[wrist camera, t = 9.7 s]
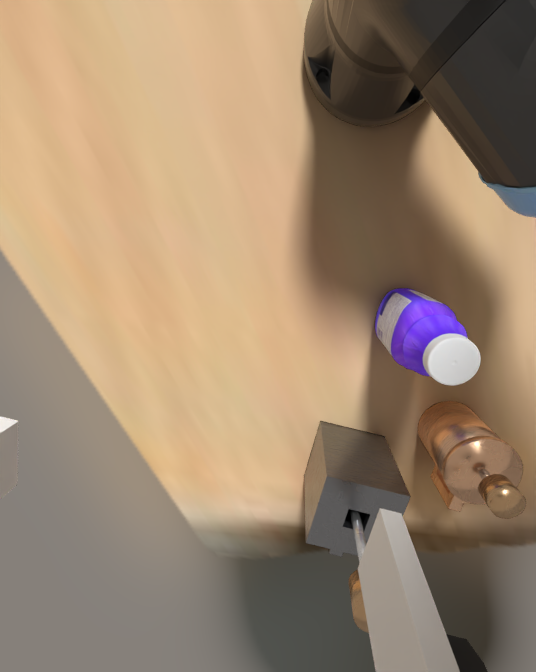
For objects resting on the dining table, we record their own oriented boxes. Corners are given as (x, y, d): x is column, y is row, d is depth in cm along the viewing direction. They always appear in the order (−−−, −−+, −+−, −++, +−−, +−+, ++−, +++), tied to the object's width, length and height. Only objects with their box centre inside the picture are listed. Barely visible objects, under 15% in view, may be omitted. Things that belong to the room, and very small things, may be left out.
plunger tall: (327, 443, 47) (346, 574, 28) (379, 455, 46) (431, 596, 28) (314, 486, 48) (324, 636, 30) (364, 498, 48) (403, 657, 30)
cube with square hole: (320, 420, 50) (326, 476, 38) (384, 436, 49) (410, 496, 38) (298, 493, 53) (299, 563, 41) (359, 507, 53) (375, 583, 41)
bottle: (410, 347, 46) (474, 410, 29) (366, 338, 46) (405, 394, 29) (429, 292, 44) (509, 325, 27) (383, 282, 44) (435, 308, 27)
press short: (428, 393, 47) (482, 458, 33) (488, 407, 47) (568, 479, 33) (402, 461, 50) (442, 548, 36) (458, 475, 50) (521, 567, 36)
